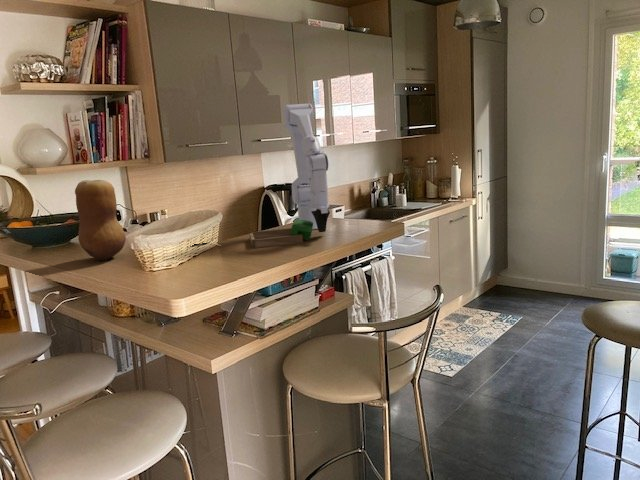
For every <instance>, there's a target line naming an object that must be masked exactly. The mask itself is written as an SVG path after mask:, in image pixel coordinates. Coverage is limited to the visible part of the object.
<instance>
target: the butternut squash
mask: <svg viewBox="0 0 640 480" xmlns="http://www.w3.org/2000/svg"><path fill="white" fill-rule="evenodd" d="M115 192H116V191H115V187H114V186H113V185H112V183H110V182H108V181H107V180H104V179H93V180H89V179H85V180H81V181H79V182H78V183H77V185H76V187H75V189H74V194H75V205H76V210H77V214H78V220H79V227H78V231H77V232H78V234H77V235H78V236H77V237H78V242H79V245H80V247H81V248H82V249H83V250H84V252H86V253H87V255H88V256H90V257H92V258H94V259H95V260H97V261H99V260H105V261H107V260H109V259H111V258H113V257H115V256H116V255H117V254H119V253H120V252H121V251H122V250H123V248H124V246H125V244H126V234H125V231H124V229H123V227H122V225H121V223H120V222H119V221H118V219H117V218H118V217H117V206H118V205H117V197H116V193H115Z"/></svg>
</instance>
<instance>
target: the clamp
mask: <svg viewBox="0 0 640 480" xmlns="http://www.w3.org/2000/svg"><path fill="white" fill-rule="evenodd" d="M312 227H313V222H311V221H305V220H300V219H299V218H296V219H295V220H294V222H293V223H292V225H291V228H292V230H291V235H300V234H302V237H303V240H304V241H305V240H306V241H310V238H311V237H312V232H313V229H312Z"/></svg>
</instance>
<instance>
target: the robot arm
mask: <svg viewBox="0 0 640 480" xmlns="http://www.w3.org/2000/svg"><path fill="white" fill-rule="evenodd" d="M314 115H315V113H314V107H313V105H312V104H311V103H310V102H308V103H297V104H285V105H284V106H283V108H282V116H283V123H284V127H285V131H288V132H290V137H291V139H292V140H291V141H292V146H293V148H292V149H293V154H294V160H295V165H296V172H297V178H296V179H295V180H294V181H293V182H292V183H291V198H292V201H293V203H294V204H295V205H297V216H298V219H300V220H305V221H311V222H313V227H312V230H318V233H325V232H326V231H327V224H328V219H329V215H330V213H331V211H330V210H329V209H328V208H330V203H329V193H328V192H329V191H328V190H329V189H328V178H327V176H328V174H327V171H328V170H329V159H328V155H327V153H325V151H324V150H323V151H322V148H321V144H320V141H319V138H318V137H316V136H314V132H313V128H312V122H313V120H314Z"/></svg>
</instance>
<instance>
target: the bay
mask: <svg viewBox="0 0 640 480" xmlns="http://www.w3.org/2000/svg"><path fill="white" fill-rule="evenodd" d="M291 230H292V227H287V228H277V229H269V230H268V229H267V230H261V231H252V232H249V240H250V243H251V246H252V247H251V248H252V249H256V248H267V247H275V246H285V245H292V244H302V243H304V239H303V237H302V234H300V235H291Z"/></svg>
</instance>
